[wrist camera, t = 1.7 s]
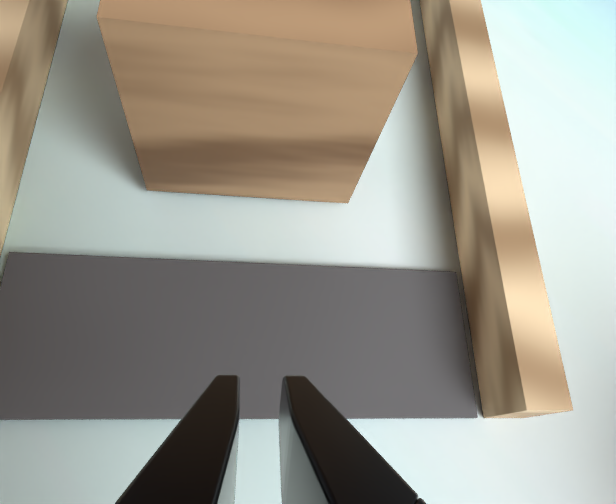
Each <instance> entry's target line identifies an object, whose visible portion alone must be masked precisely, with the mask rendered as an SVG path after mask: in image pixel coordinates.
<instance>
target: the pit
mask: <svg viewBox="0 0 616 504" xmlns="http://www.w3.org/2000/svg"><path fill="white" fill-rule="evenodd" d="M217 375H238V376H239V377H240V416H239V419H279V408H280V398H281V387H282V380H283V377H284V376H286V375H304V376H306V377H307V378H308V379H309V380H310V381H311V382H312V383H313V384H314V385H315V386H316V387H317V388H318V389H319V390H320V392H321V393H322V394H323V395H324V396H325V397H326V398H327V399H328V400H329V401H330V402H331V403H332V404H333V405H334V406H335V407H336V409H337V410H338V411H339V412H340V413H341V414H342V415H343V416H344V417H345V418H346V419H373V418H477V417H478V416H477V409H476V403H475V396H474V389H473V383H472V376H471V369H470V363H469V356H468V349H467V342H466V336H465V329H464V322H463V316H462V309H461V302H460V295H459V289H458V282H457V275H456V272H446V271H423V270H400V269H378V268H355V267H333V266H310V265H288V264H265V263H242V262H220V261H197V260H175V259H152V258H130V257H107V256H85V255H62V254H39V253H17V252H9V255H8V259H7V263H6V266H5V270H4V274H3V278H2V282H1V286H0V420H44V419H182V418H183V417H184V415H185V414H186V413H187V412H188V410H189V409H190V408H191V407H192V405H193V404H194V403H195V402H196V400H197V399H198V398H199V397H200V395H201V394H202V393H203V391H204V390H205V389H206V388H207V386H208V385H209V384H210V383H211V381H212V380H213V379H214V378H215V376H217Z"/></svg>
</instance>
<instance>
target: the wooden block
mask: <svg viewBox="0 0 616 504" xmlns="http://www.w3.org/2000/svg"><path fill="white" fill-rule="evenodd" d="M97 20H98V24H99V27H100V31H101V34H102V37H103V41H104V44H105V48H106V51H107V55H108V58H109V62H110V65H111V68H112V72H113V75H114V79H115V82H116V86H117V89H118V93H119V96H120V99H121V103H122V106H123V110H124V113H125V117H126V120H127V124H128V127H129V130H130V134H131V137H132V141H133V144H134V148H135V151H136V154H137V158H138V161H139V165H140V168H141V172H142V175H143V179H144V182H145V185H146V189H147V190H149V191H165V192H181V193H196V194H212V195H227V196H243V197H258V198H274V199H289V200H305V201H320V202H336V203H348V202H349V200H350V198H351V196H352V194H353V192H354V189H355V187H356V185H357V183H358V181H359V179H360V177H361V174H362V172H363V170H364V168H365V166H366V164H367V161H368V159H369V157H370V155H371V153H372V151H373V149H374V146H375V144H376V142H377V140H378V138H379V136H380V134H381V131H382V129H383V127H384V125H385V123H386V121H387V119H388V116H389V114H390V112H391V110H392V108H393V106H394V104H395V101H396V99H397V97H398V95H399V93H400V91H401V89H402V86H403V84H404V82H405V80H406V78H407V76H408V74H409V71H410V69H411V67H412V65H413V63H414V61H415V59H416V56H417V54H418V51H417V44H416V37H415V30H414V23H413V16H412V9H411V2H410V0H100V4H99V8H98V13H97Z"/></svg>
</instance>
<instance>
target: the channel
mask: <svg viewBox="0 0 616 504" xmlns="http://www.w3.org/2000/svg"><path fill="white" fill-rule="evenodd" d="M67 1H68V0H0V256H1V252H2V248H3V245H4V241H5V237H6V233H7V229H8V226H9V222H10V218H11V214H12V210H13V207H14V203H15V199H16V195H17V191H18V188H19V184H20V180H21V176H22V172H23V169H24V165H25V161H26V157H27V153H28V150H29V146H30V142H31V138H32V134H33V131H34V127H35V123H36V119H37V115H38V112H39V108H40V104H41V100H42V96H43V93H44V89H45V85H46V81H47V77H48V74H49V70H50V66H51V62H52V58H53V55H54V51H55V47H56V43H57V39H58V36H59V32H60V28H61V24H62V20H63V17H64V13H65V9H66V5H67ZM420 7H421V13H422V20H423V26H424V33H425V40H426V46H427V53H428V59H429V66H430V72H431V79H432V85H433V92H434V98H435V105H436V111H437V118H438V124H439V131H440V137H441V144H442V150H443V157H444V163H445V170H446V176H447V183H448V189H449V196H450V202H451V209H452V215H453V222H454V228H455V235H456V241H457V248H458V254H459V261H460V267H461V274H462V280H463V287H464V293H465V300H466V306H467V313H468V319H469V326H470V332H471V339H472V345H473V352H474V358H475V365H476V371H477V378H478V384H479V391H480V397H481V404H482V410H483V417H484V418H527V417H533V416H540V415H546V414H552V413H559V412H565V411H572V410H573V407H572V403H571V398H570V394H569V389H568V385H567V381H566V376H565V372H564V367H563V363H562V358H561V354H560V350H559V345H558V341H557V336H556V332H555V327H554V323H553V319H552V314H551V310H550V305H549V301H548V297H547V292H546V288H545V283H544V279H543V274H542V270H541V266H540V261H539V257H538V252H537V248H536V243H535V239H534V235H533V230H532V226H531V221H530V217H529V213H528V208H527V204H526V199H525V195H524V190H523V186H522V182H521V177H520V173H519V168H518V164H517V159H516V155H515V151H514V146H513V142H512V137H511V133H510V128H509V124H508V120H507V115H506V111H505V106H504V102H503V98H502V93H501V89H500V84H499V80H498V75H497V71H496V67H495V62H494V58H493V53H492V49H491V44H490V40H489V36H488V31H487V27H486V22H485V18H484V13H483V9H482V5H481V0H420Z"/></svg>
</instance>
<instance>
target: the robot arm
mask: <svg viewBox="0 0 616 504" xmlns="http://www.w3.org/2000/svg"><path fill="white" fill-rule="evenodd" d="M239 416H240V377H239V376H238V375H217V376H215V378H214V379H213V380H212V381H211V383H210V384H209V385H208V386H207V388H206V389H205V390H204V391H203V393H202V394H201V395H200V397H199V398H198V399H197V400H196V402H195V403H194V404H193V405H192V407H191V408H190V409H189V410H188V412H187V413H186V414H185V415H184V417H183V418H182V419H181V421H180V422H179V423H178V424H177V426H176V427H175V428H174V429H173V431H172V432H171V433H170V434H169V436H168V437H167V438H166V439H165V441H164V442H163V443H162V445H161V446H160V447H159V448H158V450H157V451H156V452H155V453H154V455H153V456H152V457H151V458H150V460H149V461H148V462H147V463H146V465H145V466H144V467H143V469H142V470H141V471H140V472H139V474H138V475H137V476H136V477H135V479H134V480H133V481H132V482H131V484H130V485H129V486H128V487H127V489H126V490H125V491H124V493H123V494H122V495H121V496H120V498H119V499H118V500H117V501H116V503H115V504H234V500H235V484H236V467H237V450H238V433H239ZM279 444H280V472H281V495H282V504H426V503H425V502H424V501H423V500H422V499H421V498H419V499H418V495H417V493H416V492H415V491H414V490H413V489H412V488H411V487H410V486H409V485H408V484H407V483H406V482H405V481H404V480H403V479H402V477H401V476H400V475H399V474H398V473H397V472H396V471H395V470H394V469H393V468H392V467H391V466H390V465H389V464H388V463H387V462H386V461H385V459H384V458H383V457H382V456H381V455H380V454H379V453H378V452H377V451H376V450H375V449H374V448H373V447H372V446H371V445H370V444H369V442H368V441H367V440H366V439H365V438H364V437H363V436H362V435H361V434H360V433H359V432H358V431H357V430H356V429H355V428H354V427H353V425H352V424H351V423H350V422H349V421H348V420H347V419H346V418H345V417H344V416H343V415H342V414H341V413H340V412H339V411H338V410H337V409H336V407H335V406H334V405H333V404H332V403H331V402H330V401H329V400H328V399H327V398H326V397H325V396H324V395H323V394H322V393H321V392H320V390H319V389H318V388H317V387H316V386H315V385H314V384H313V383H312V382H311V381H310V380H309V379H308V378H307V377H306V376H304V375H286V376H284V377H283V380H282V387H281V398H280V408H279Z"/></svg>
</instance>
